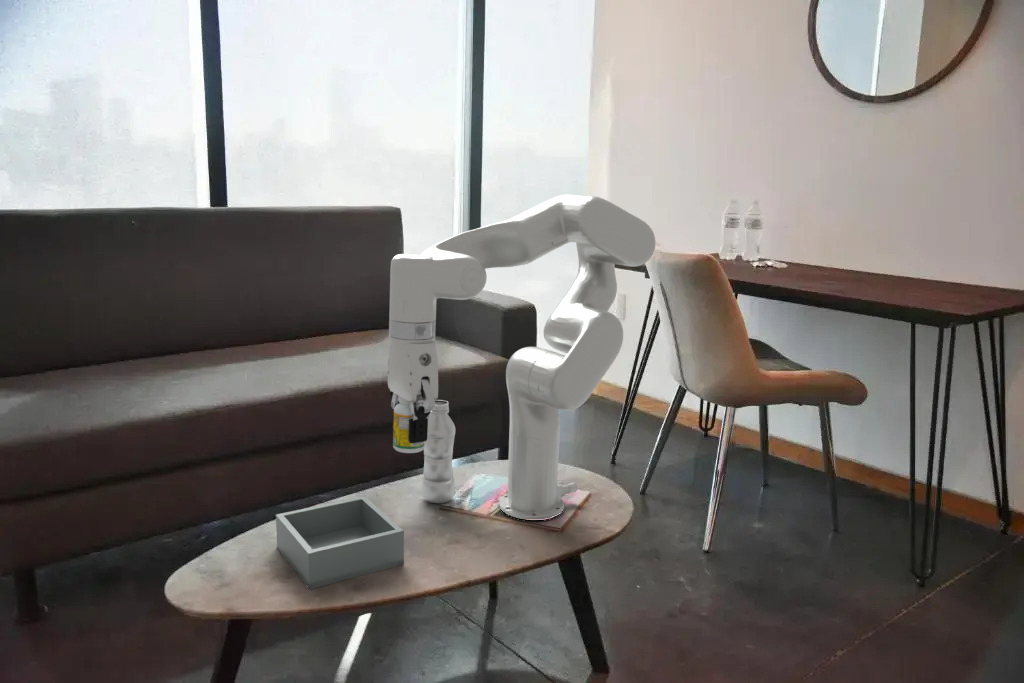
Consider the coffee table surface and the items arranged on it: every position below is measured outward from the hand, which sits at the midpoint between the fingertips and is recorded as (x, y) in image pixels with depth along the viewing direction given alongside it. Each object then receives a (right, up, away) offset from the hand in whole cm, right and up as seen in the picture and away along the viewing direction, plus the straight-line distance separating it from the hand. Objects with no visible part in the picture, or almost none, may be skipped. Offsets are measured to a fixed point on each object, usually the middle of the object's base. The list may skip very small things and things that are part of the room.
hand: (409, 435), depth 136 cm
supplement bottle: (0, -2, 0) cm, 2 cm away
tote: (-12, -20, 0) cm, 23 cm away
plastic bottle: (+3, -16, +23) cm, 28 cm away
